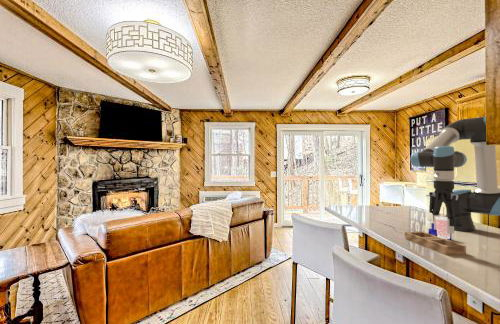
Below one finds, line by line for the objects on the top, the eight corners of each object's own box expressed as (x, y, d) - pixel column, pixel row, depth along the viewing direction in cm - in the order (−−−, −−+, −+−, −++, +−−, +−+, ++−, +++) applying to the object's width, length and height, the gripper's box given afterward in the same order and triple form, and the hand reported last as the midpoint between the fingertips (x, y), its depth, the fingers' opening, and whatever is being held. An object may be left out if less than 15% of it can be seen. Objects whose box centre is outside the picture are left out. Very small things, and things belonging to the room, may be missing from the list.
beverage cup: (435, 235, 122) (435, 205, 123) (452, 237, 118) (452, 206, 119) (434, 237, 118) (434, 206, 118) (451, 240, 114) (451, 208, 114)
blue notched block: (428, 233, 146) (428, 223, 146) (437, 234, 145) (437, 223, 145) (442, 240, 134) (442, 228, 134) (451, 240, 133) (451, 228, 133)
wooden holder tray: (405, 238, 135) (405, 232, 135) (422, 238, 137) (422, 231, 137) (445, 254, 112) (445, 246, 112) (466, 253, 113) (466, 245, 113)
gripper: (419, 179, 127) (419, 226, 127) (455, 181, 108) (455, 237, 108) (433, 179, 128) (433, 226, 128) (471, 181, 109) (471, 236, 109)
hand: (443, 231), depth 118 cm, fingers closed on beverage cup, 6 cm apart
